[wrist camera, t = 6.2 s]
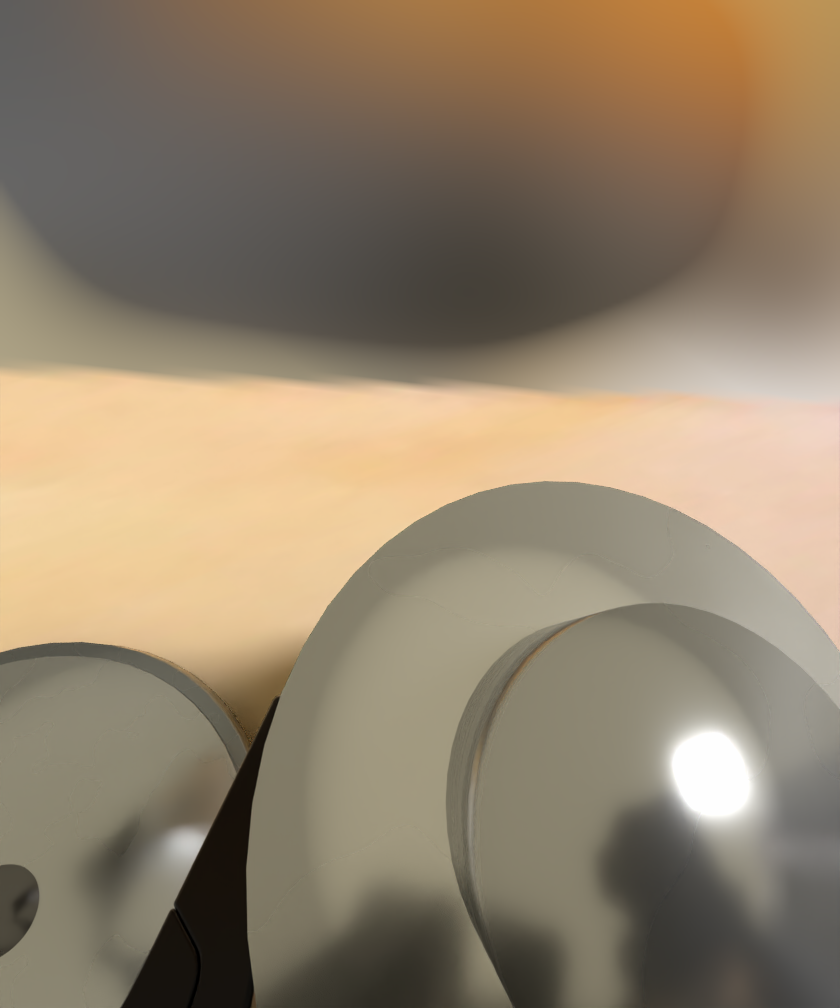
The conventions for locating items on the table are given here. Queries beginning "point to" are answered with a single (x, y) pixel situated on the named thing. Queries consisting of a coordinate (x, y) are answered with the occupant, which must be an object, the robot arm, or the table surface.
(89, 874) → the disc
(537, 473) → the table surface
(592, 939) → the silver metal cylinder
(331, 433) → the table surface
